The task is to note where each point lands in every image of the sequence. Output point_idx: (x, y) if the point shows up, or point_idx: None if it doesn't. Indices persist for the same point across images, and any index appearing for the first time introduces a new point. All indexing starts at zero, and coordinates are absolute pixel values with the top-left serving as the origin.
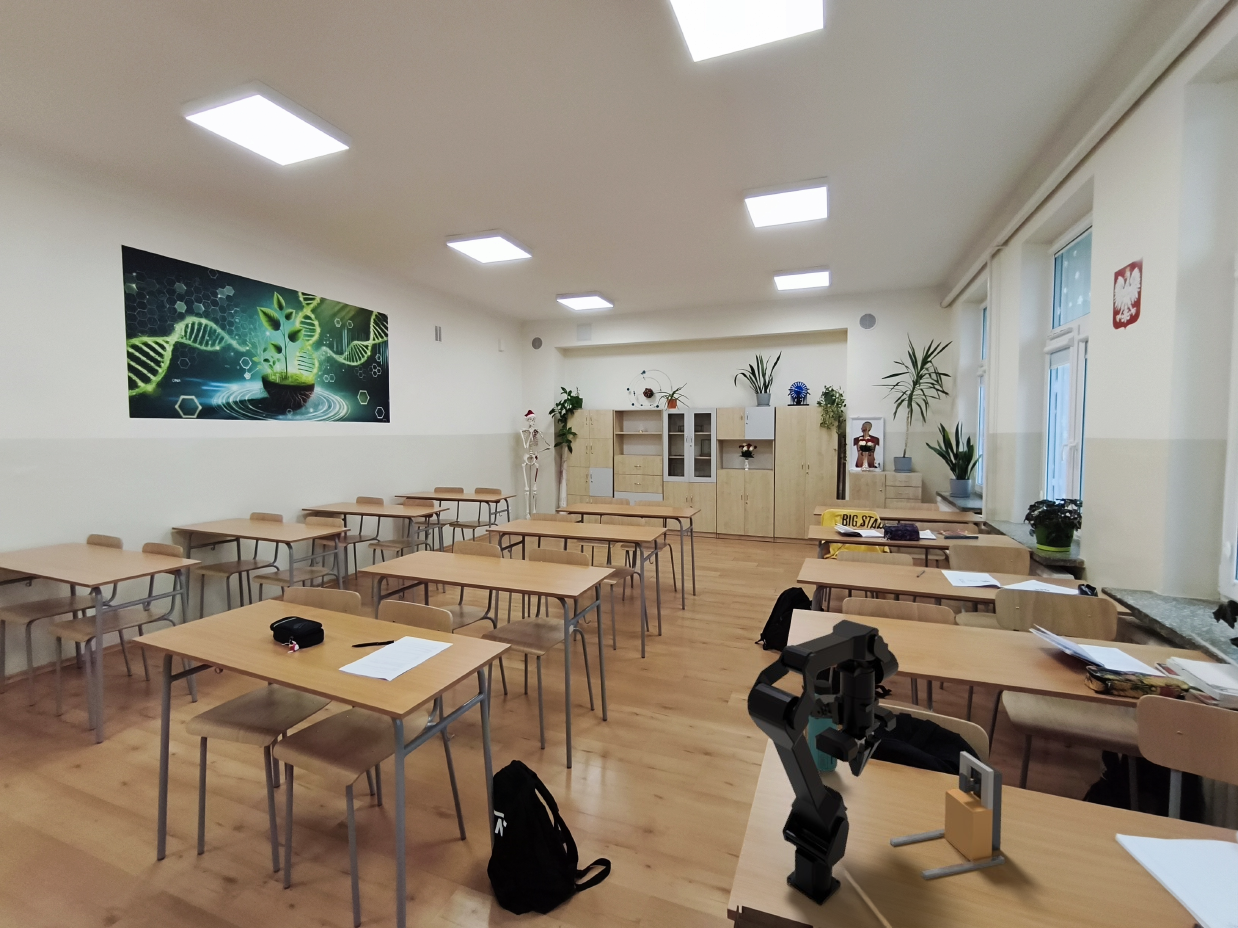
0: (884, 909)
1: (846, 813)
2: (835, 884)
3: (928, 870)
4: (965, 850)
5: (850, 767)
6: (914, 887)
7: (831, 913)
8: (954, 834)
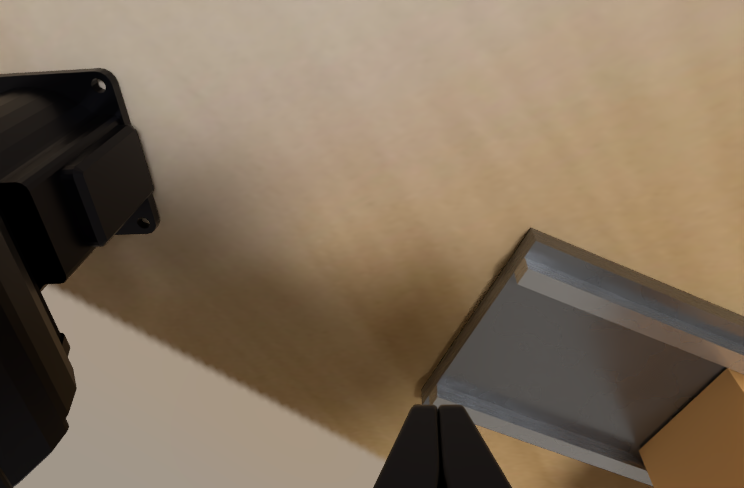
0: (219, 346)
1: (21, 479)
2: (126, 224)
3: (462, 405)
4: (666, 451)
5: (381, 471)
6: (390, 363)
7: None
8: (716, 440)
